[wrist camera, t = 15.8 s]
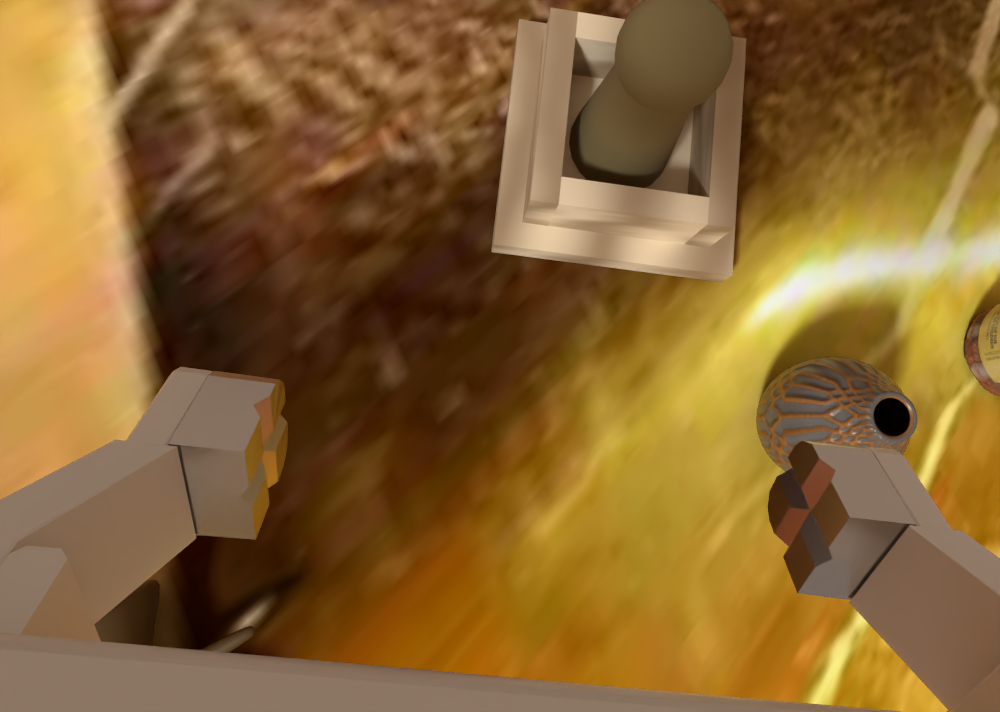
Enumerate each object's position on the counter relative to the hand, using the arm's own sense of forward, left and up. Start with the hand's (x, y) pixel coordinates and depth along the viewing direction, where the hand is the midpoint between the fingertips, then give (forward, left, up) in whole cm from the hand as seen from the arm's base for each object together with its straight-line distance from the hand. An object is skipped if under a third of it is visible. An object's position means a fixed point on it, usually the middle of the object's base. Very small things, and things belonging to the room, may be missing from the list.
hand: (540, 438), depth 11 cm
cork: (+7, +18, -26) cm, 33 cm away
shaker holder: (+7, +18, -27) cm, 34 cm away
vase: (+19, +3, -28) cm, 34 cm away
